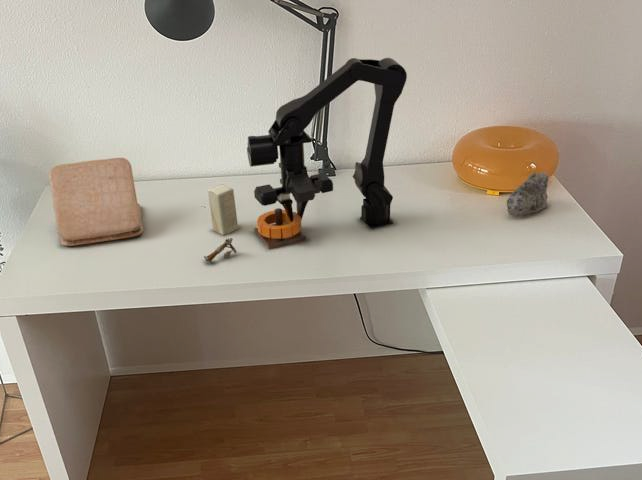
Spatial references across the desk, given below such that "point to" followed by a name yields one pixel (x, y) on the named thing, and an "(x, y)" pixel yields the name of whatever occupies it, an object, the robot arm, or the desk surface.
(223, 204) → the box
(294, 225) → the orange ring
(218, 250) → the wooden post with brackets
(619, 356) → the desk surface
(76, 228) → the case
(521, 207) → the mineral rock
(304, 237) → the brown peg stand
